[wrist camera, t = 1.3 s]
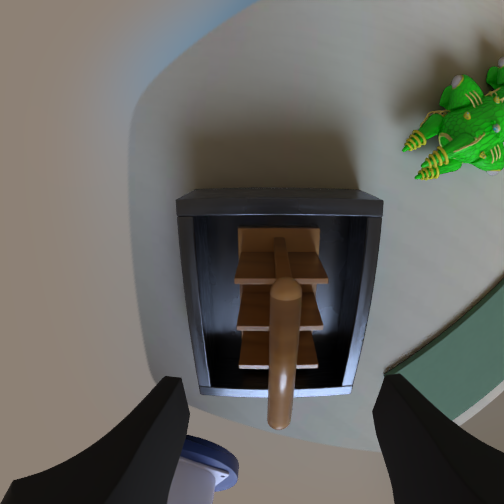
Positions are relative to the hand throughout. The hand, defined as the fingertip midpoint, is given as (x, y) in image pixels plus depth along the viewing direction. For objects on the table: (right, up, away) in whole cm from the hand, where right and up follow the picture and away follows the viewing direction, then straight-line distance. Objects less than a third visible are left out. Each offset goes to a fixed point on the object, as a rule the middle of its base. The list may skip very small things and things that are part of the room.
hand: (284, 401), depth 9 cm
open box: (0, +3, +9) cm, 10 cm away
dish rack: (0, +3, +8) cm, 9 cm away
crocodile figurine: (+15, +15, +4) cm, 22 cm away
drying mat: (+27, 0, +9) cm, 28 cm away
